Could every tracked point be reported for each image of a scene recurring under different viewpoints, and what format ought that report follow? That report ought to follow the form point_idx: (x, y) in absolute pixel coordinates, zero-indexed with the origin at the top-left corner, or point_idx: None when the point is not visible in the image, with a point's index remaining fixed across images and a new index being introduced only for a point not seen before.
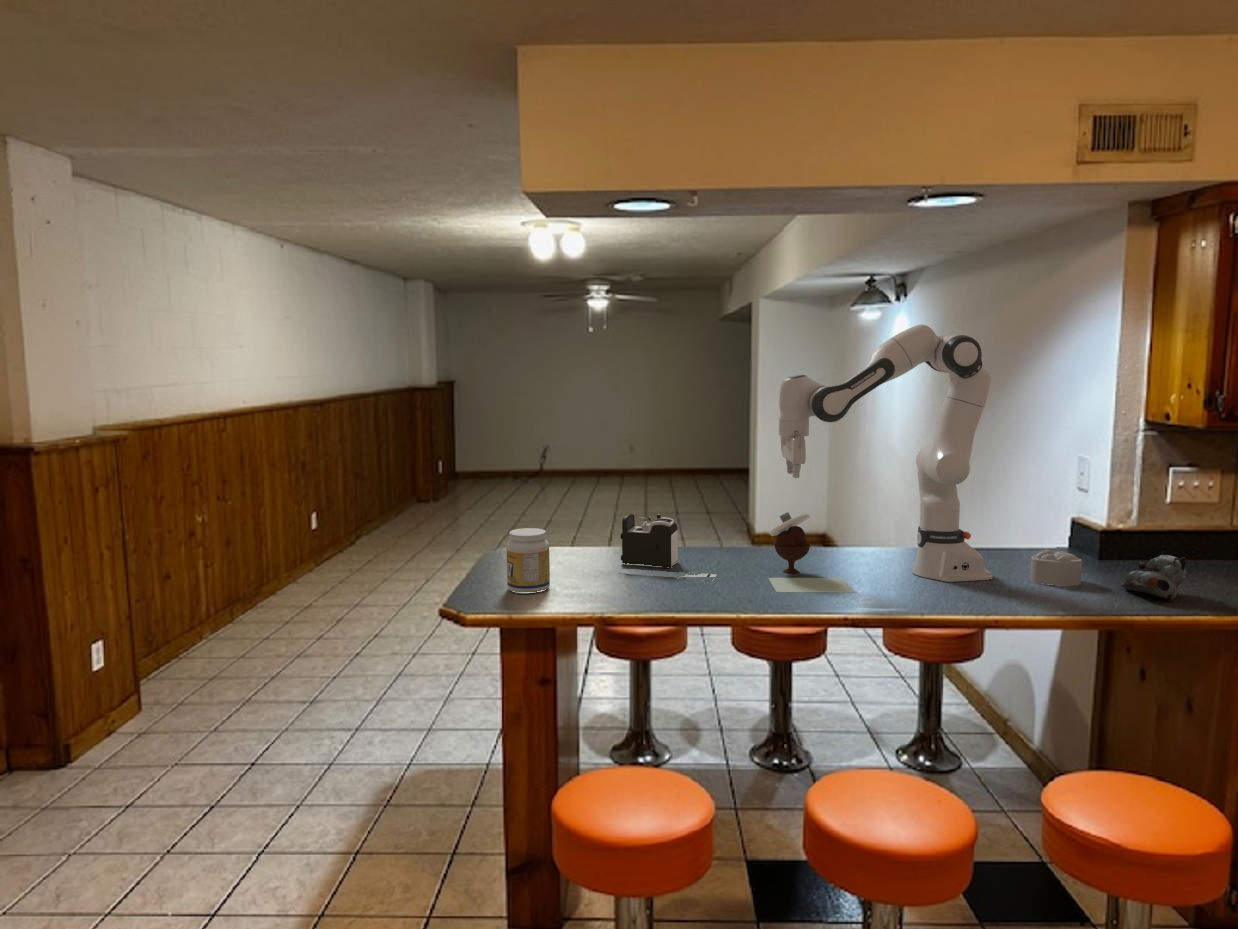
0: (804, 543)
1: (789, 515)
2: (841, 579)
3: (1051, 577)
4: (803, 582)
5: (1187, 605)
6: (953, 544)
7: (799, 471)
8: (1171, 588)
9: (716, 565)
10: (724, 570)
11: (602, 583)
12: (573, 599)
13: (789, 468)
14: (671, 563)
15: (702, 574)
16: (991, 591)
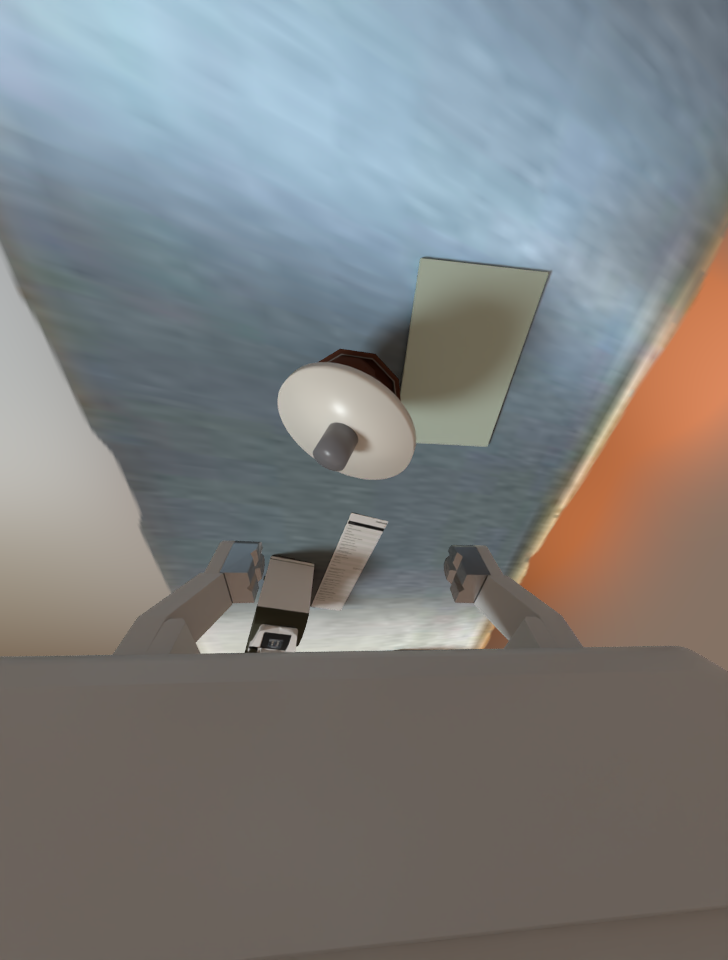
0: (374, 374)
1: (342, 444)
2: (434, 269)
3: None
4: (440, 380)
5: None
6: None
7: (513, 581)
8: None
9: (286, 507)
10: (321, 499)
11: (383, 619)
12: (439, 634)
13: (254, 592)
14: (312, 569)
15: (349, 531)
16: None
